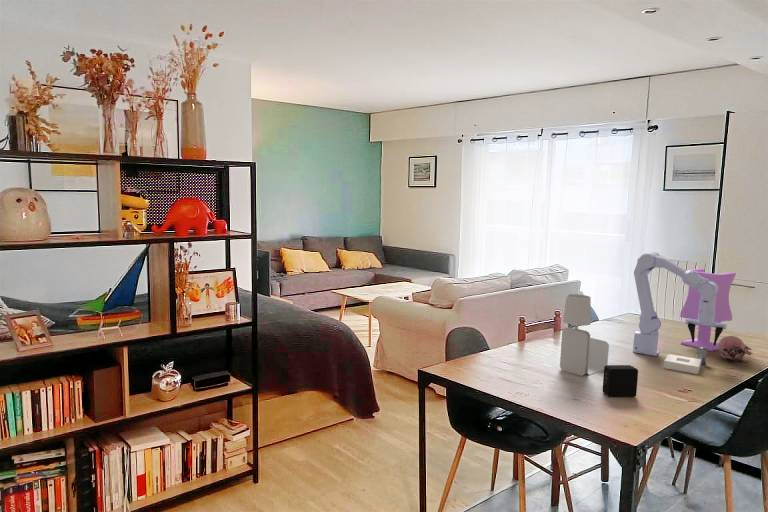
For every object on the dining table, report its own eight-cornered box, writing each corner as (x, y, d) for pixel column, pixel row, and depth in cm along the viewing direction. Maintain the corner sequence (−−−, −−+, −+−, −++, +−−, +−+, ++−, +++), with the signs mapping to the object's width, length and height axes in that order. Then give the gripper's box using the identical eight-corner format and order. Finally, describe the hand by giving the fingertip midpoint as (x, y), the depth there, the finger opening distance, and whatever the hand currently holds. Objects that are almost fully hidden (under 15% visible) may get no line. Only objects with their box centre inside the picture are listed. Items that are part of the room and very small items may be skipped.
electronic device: (602, 393, 188) (604, 365, 187) (629, 392, 189) (631, 365, 187) (608, 397, 184) (610, 369, 182) (636, 397, 184) (638, 368, 183)
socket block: (663, 367, 218) (664, 360, 217) (667, 360, 227) (668, 353, 227) (698, 374, 211) (698, 366, 210) (700, 366, 221) (701, 359, 220)
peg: (697, 364, 224) (698, 347, 223) (697, 362, 226) (699, 346, 225) (705, 365, 222) (707, 349, 221) (706, 364, 224) (707, 347, 223)
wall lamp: (607, 368, 216) (612, 293, 212) (579, 379, 202) (584, 299, 198) (582, 361, 223) (587, 289, 220) (554, 371, 210) (559, 295, 206)
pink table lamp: (729, 347, 251) (736, 272, 247) (712, 352, 242) (720, 274, 238) (694, 339, 264) (700, 268, 260) (677, 343, 255) (684, 270, 251)
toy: (760, 365, 219) (750, 353, 233) (753, 340, 219) (744, 330, 233) (727, 370, 224) (719, 358, 238) (720, 345, 224) (712, 335, 237)
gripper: (685, 310, 222) (682, 342, 224) (727, 315, 214) (723, 348, 215) (687, 307, 228) (684, 338, 229) (728, 312, 220) (724, 344, 221)
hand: (703, 343), depth 223 cm, fingers open, 7 cm apart
